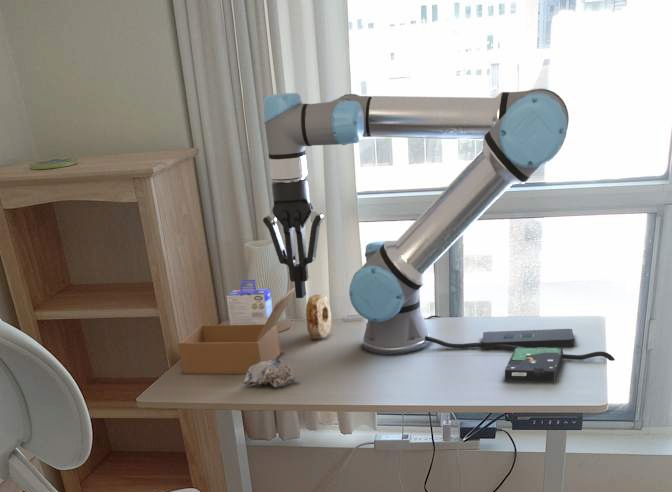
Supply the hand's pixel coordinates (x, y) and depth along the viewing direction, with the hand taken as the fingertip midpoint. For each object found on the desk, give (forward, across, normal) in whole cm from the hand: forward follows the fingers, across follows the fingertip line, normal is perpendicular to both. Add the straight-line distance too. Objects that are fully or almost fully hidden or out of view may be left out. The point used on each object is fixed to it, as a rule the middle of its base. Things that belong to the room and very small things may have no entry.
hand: (301, 296), depth 202 cm
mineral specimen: (+15, +4, +14) cm, 21 cm away
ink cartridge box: (+15, +18, -16) cm, 29 cm away
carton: (+15, +18, 0) cm, 24 cm away
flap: (+3, +6, 0) cm, 7 cm away
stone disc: (+15, +2, -20) cm, 25 cm away
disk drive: (+15, -51, +4) cm, 53 cm away
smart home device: (+15, -48, -14) cm, 52 cm away
